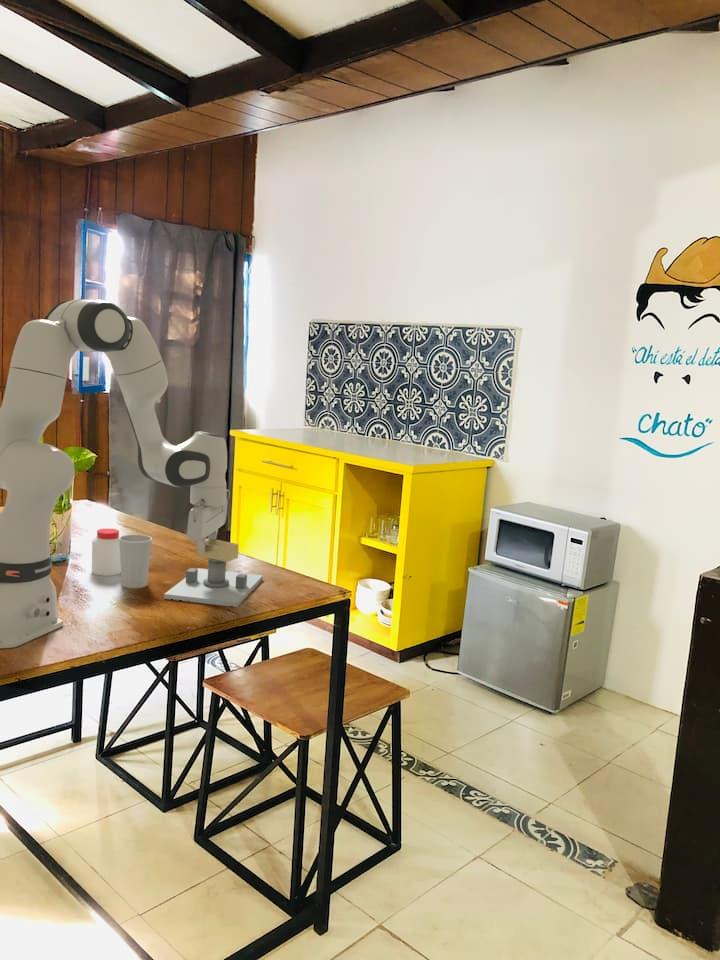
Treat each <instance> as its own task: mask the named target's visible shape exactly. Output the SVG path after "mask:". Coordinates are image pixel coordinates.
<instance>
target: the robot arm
mask: <svg viewBox="0 0 720 960" xmlns="http://www.w3.org/2000/svg"><path fill="white" fill-rule="evenodd" d="M78 351H79V352H81V353H82V352H83V353H96V352H98V353H100V352H101V353H104V354H105V356H106V357H107V359H108V360H109V362H110V365H111V367H112V370H113V373H114V376H115V379H116V380H117V383H118V385H119V388H120V390H121V393H122V397H123V400H124V405H125V409H126V412H127V416H128V419H129V421H130V425H131V427H132V431H133V434H134V437H135V441H136V444H137V463H138V465H137V466H138V468H139V471H140V473H141V475H143V476H144V477H145V478H146V479H148V480H150V481H153V482H159V483H163V484H166V485H169V486H172V487H177V488H184V487H185V488H186V487H190V495H189V503H190V504H191V505H194V506H193V507H192V508H191V509H190V510H189V512H188V519H187V520H188V521H187V534H186V535H187V540H189V541H195V543H196V546H197V547H198V554H204V553H206V546H205V541H206V539H208V538H211V539H216V540H217V535H218V532H219V528H221V527H222V526H224V525H225V523H226V520H227V515H228V504H229V503H228V501H229V500H228V499H230V496H231V492H230V490H229V489H227V481H226V473H227V470H228V447H227V442H226V439H225V438H224V437H223V435H221V434H217V433H213V432H208V431H198V430H197V431H195V433H194V434H193V435H192V436H191V437H189V438H188V439H187V440H185V441H183V442H182V443H179V444H176V445H175V444H171V443H170V442H169V441H168V440H167V439H166V438H165V437H164V435H163V433H162V430H161V426H160V423H159V420H158V417H157V413H156V410H155V409H156V408H155V404H156V401H158V400H159V399H160V398H161V397H163V395H164V394H165V393H166V391H167V388H168V385H169V380H168V379H169V378H168V373H167V369H166V366H165V363H164V360H163V358H162V355H161V353H160V351H159V348H158V345H157V344H156V342H155V340H154V338H153V336H152V334H151V332H150V330H149V329H148V327H147V325H146V324H145V323H144V322H143V321H142V320H141V319H139V318H137V317H134V316H127V315H126V314H125V312H124V311H123V310H122V308H121V307H119V306H118V305H116V304H114V303H112V302H110V301H108V300H103V299H95V300H94V299H87V298H79V299H73V300H64V301H61V302H58V303H57V304H55V305H54V306H52V307H51V309H49V311H48V312H47V313H46V315H45V317H44V318H43V319H34V320H33V319H32V320H30V321H27V322H25V324H24V325H23V326H22V327H21V330H20V332H19V334H18V336H17V340H16V343H15V346H14V348H13V351H12V352H13V353H12V356H11V360H10V364H9V368H8V369H9V370H8V375H7V380H6V385H5V390H4V394H3V399H2V402H1V406H0V489H3V490H6V492H7V493H6V499H5V500H6V501H5V504H4V507H3V508H2V511H1V512H0V649H12V648H16V647H18V646H22V645H23V644H27V643H29V642H31V641H32V640H34V639H37V638H39V637H42V636H43V635H46V634H48V633H51V632H52V631H54V630H57V629H60V628H62V627H63V626H64V621H63V619H61V618H60V617H59V612H58V611H59V610H58V597H57V596H58V595H57V588H56V587H57V586H55V584H54V583H53V581H52V580H53V579H52V578H51V574H52V566H53V562H52V556H51V555H50V540H51V538H50V536H51V532H50V531H51V521H52V518H53V513H54V510H55V507H56V504H57V503H58V500H59V499H60V497H61V496H62V495H63V494H64V493H66V492H67V491H68V490H69V489H70V488H71V486H72V484H73V481H74V478H75V473H76V472H75V470H76V469H75V464H74V462H73V460H72V458H71V456H70V455H68V454H67V453H66V452H64V451H63V450H61V449H59V447H58V448H57V447H56V446H54V445H51V444H48V443H44V442H40V441H41V438H42V437H43V434H44V433H45V431H46V429H47V428H48V426H49V425H50V424H51V423H53V422H54V421H56V420H57V419H58V417H59V416H60V414H61V412H62V406H63V400H64V395H65V390H66V389H65V388H66V385H67V384H66V383H67V378H68V372H69V365H70V362H71V360H72V358H73V356H74V355H75V353H76V352H78Z"/></svg>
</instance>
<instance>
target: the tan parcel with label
mask: <svg viewBox="0 0 720 960" xmlns="http://www.w3.org/2000/svg"><path fill="white" fill-rule="evenodd" d="M205 546H206V553H204V554H198V547H197V550H196V551H197V552H196V556H198V557H202V558H207V562H208V561H209V562H212V563H224V562H226V563H228V562H230V561H233V560H235V559H238V558H239V543H235V542H230V541H225V540H221V539H217V538H216V539H211V538H208V537H207V538H206V541H205Z"/></svg>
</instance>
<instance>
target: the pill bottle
mask: <svg viewBox="0 0 720 960" xmlns="http://www.w3.org/2000/svg"><path fill="white" fill-rule="evenodd" d="M119 537H120V530H119V529H117V528H100V529H98V530H97V531H96V536H95V537H94V538H93V539H92V540H91V541H92V543H91V544H92V545H91V548H92V549H91V573H92V574H94V575H97V576H102V577H103V576H104V577H105V576H116V575H121V562H120V545H119Z"/></svg>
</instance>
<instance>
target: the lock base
mask: <svg viewBox="0 0 720 960" xmlns="http://www.w3.org/2000/svg"><path fill="white" fill-rule="evenodd" d="M226 568H227V562H224V563H212V562H209V561H208V560H207V568H200V567H199V568H198V567H197V568H194V567H190V568H188V569H187V570H186V571H185V578H183V579H182V580H180V581H179V582H178V583H177V584H175V585H174V586H172V587H171V588H170V589H169V590H167V591H166V592H165V593H163V595H164V596H163V597H164V598H163V599H164V600H165V599H166V600H171V599H173V600H172V601H179V600H182V601H181V602H188V601H189V603H197V604H205V605H206V604H207V605H212V606H213V605H215V606H222V607H230V606H233V607H232V608H238V607H239V605H240V604H242V602H243V601H244V600H245V599H246V598H247V597H248V596H249V595H250V594H251V593H252V592H251V591H254V589H256V587H257V586H258V585H259V584H260V583H261V582H262V581H263V579H264V578H263V577H264V576H263V574H262V575H261V574H252V573H243V572H235V571H234V572H233V571H227V570H226ZM250 592H251V593H250ZM249 593H250V594H249ZM248 594H249V595H248Z"/></svg>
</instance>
